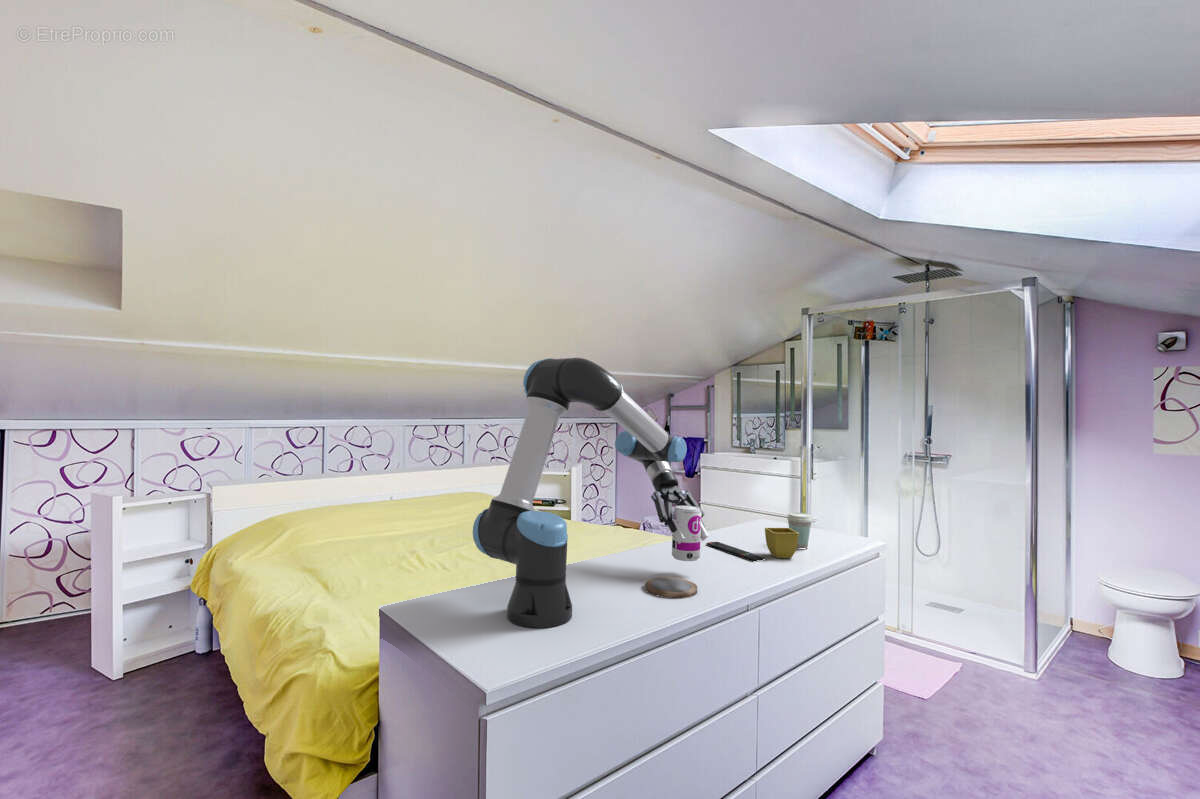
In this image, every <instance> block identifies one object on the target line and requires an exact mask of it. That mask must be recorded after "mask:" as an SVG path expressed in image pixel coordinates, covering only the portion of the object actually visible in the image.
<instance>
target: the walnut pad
mask: <svg viewBox="0 0 1200 799" xmlns="http://www.w3.org/2000/svg"><path fill="white" fill-rule="evenodd" d="M644 586H645V591H646V590H647V591H648V592H647V591H646V592H647V593H649V594H651V595H653V594H654V595H653V596H656V595H659V596H658V597H660V596H663V597H662V598H665V597H672V598H671V599H686V598H685V597H687V598H691V597H693V596H695V595H696V594H697V593H698V585H697V584H696V583H695V582H694V581H690V580H688V579H684V578H677V577H665V576H664V577H656V578H651V579H649V580H648V579H647V581H645V584H644ZM683 597H684V598H683Z"/></svg>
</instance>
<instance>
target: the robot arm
mask: <svg viewBox="0 0 1200 799" xmlns="http://www.w3.org/2000/svg"><path fill="white" fill-rule="evenodd" d="M522 384H523V387H524V389H523V390H524V393H525V395H526V397H525V402H526V404H527V406H528V409H527V412H526V416H525V419H524V421H523V423H522V427H521V430H520V433H519V436H518V439H517V441H516V444H515V449H514V451H513V454H512V457H511V460H510V462H509V466H508V469H507V471H506V476H505V478H504V481H503V484H502V486H501V490H500V493H499V494H498V495H496V496H494V497H493V498H491V501H490V504H489V506H488V507H487V508H485V509H483V510H482V512H479V514H477V516H476V518H475V520H474V521H473V526H472V539H473V541H474V544H475V546H476V548H477V549H478V550H479V552H481V553H482V554H484V555H487V556H489V557H490V558H492V559H495V560H500V561H503V562H507V563H510V564H514V565H515V566H516V567H515V568H516V569H515V584H514V586H513V589H512V591H511V595H510V598H509V599H508V600H509V601H508V604H507V606H506V607H507V608H506V618H507V619H508V621H510V622H511V623H513V624H515V625H518V626H521V627H526V628H541V629H542V628H551V627H556V626H560V625H563V624H565V623H568V622H569V621H570V620H571V619H572V617H573V604H572V601H571V597H570V594H569V590H568V586H567V559H568V558H567V556H568V554H567V553H568V539H569V538H568V528H567V527H568V526H567V522H566V520H565V519H564V518H563V517H561V516H560V515H558V514H556V513H553V512H549V511H542V510H536V509H535V507H534V505H533V502H534V499H535V496H536V493H537V490H538V487H539V484H540V481H541V478H542V474H543V471H544V467H545V465H546V462H547V459H548V456H549V452H550V449H551V447H552V443H553V440H554V437H555V432H556V429H557V427H558V423H559V421H560V418H561V417H564V415H567V413H568V410H569V409H570V408H569V407H570V404H571V403H582V404H585V405H588V406H591V407H593V409H595V410H596V411H598V412H604V413H605V414H607V416H608V417H609V418H611V420H613V421H615V423H617V424H618V425H619V426H621V428H623V431H621V432H619V434H617V436H616V438H615V442H614V448H615V450H616V452H618V453H619V454H621V455H622V456H624V457H626V458H627V457H628V458H629V459H632V460H634V461H637V462H639V463H641V465H642V466H643V467H644V469H645V472H646V474H647V476H648V478H649V480H650V482H651V484H652V485H653V488H654V491H653V493H652V494H651V496H650V497H651V500H652V501H653V503H654V506H655V509H656V513H657V517H658V520H659V522H660V523H663V524H664V525H665V526H667V527H668V528H669V530H670V532H671V533H672V534H673V533H674V535H675V537H676V540H677V542H678V544H680V543H681V542H682V541H683V540H684V539H685V537H684V535H683V533H682V531H681V529H680V527H679V525H678V523H677V521H676V519H673V504H675V505H676V506H694V507H698V508H699V509H700V512H701V539H700V541H701V542H704V541H705V540H706V539H708V537H709V533H708V531H707V530H706V525H705V524H704V521H703V520H702V518H703V517H704V516H705V512H704V511H703V510H702V508H701V507H700V506H699V504H698V503H697V501H696V500H695V498H694V497H693V496H692V493H691V491H690V489H686V490H683V489H681V488H680V486H679V481H678V479H677V477H676V475H675V473H674V471H673V469H672V467H671V465H670V464H672V463H681V462H682V461H684V459H685V457H686V454H687V451H688V448H687V442H686V440H684V438H682V437H679V436H677V435H675V436H671V435H670V434H669V433H668V432H667V431H666V430H665V429H664V428H662V426H661V425H659V423H658V422H656V420H654V419H653V417H651V416H650V415H649V414H648V413H647V412H646V411H645V410H644V409H643V408H642V407H641V406H640V405H638V404H637V403H636V401H635V400H633V398H632V397H630V396H629V395H628V394H627V393H626V392H625V391H624V389H623V384H622V383H621V382H620V381H619V380H618V378H616V377H615V376H614V375H613V374H612V373H610V372H609V371H608V370H606V369H604V367H602V366H600V365H598V364H597V363H595V362H593V361H592V360H589V359H587V358H582V357H571V358H570V357H567V358H553V357H552V358H551V357H550V358H545V359H544V358H543V359H539V360H537V361H535V362H533V363H532V364H531V365H529V367H528V368H527V370H526V371H525V374H524V375H523V382H522ZM669 463H670V464H669Z"/></svg>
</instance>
